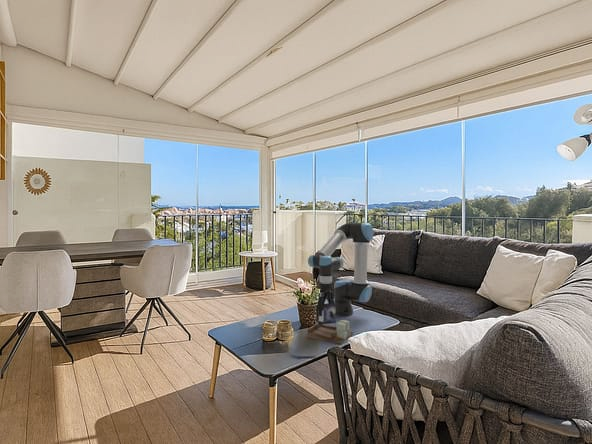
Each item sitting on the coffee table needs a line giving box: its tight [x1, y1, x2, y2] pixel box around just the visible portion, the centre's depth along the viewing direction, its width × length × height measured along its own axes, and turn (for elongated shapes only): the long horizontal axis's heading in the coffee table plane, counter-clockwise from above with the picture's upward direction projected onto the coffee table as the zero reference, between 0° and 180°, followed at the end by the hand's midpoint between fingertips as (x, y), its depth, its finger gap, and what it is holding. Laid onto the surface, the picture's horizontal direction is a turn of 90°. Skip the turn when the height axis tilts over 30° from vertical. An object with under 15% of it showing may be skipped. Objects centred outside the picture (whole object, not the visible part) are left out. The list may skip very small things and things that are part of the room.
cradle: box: [306, 319, 354, 345], centre depth 213 cm, size 18×22×10 cm
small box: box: [315, 302, 337, 325], centre depth 214 cm, size 11×6×10 cm, turn 111°
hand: (325, 318), depth 214 cm, fingers closed on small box, 12 cm apart
